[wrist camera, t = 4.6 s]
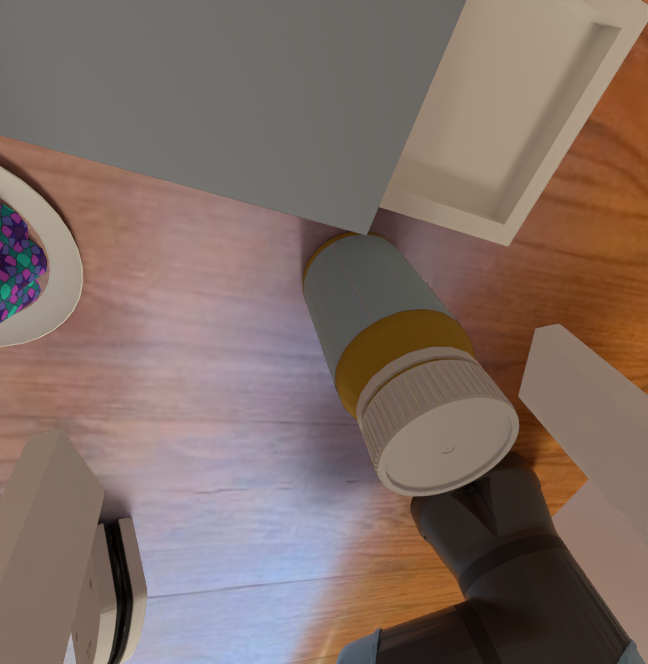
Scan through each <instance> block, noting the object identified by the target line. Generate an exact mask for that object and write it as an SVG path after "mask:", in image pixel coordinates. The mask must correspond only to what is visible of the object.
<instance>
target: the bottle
mask: <svg viewBox="0 0 648 664" xmlns="http://www.w3.org/2000/svg"><path fill="white" fill-rule="evenodd" d="M303 293H304V297H305V301H306V303H307V306H308V309H309V312H310V315H311V318H312V321H313V324H314V327H315V329H316V332H317V335H318V338H319V341H320V344H321V347H322V350H323V352H324V355H325V358H326V361H327V364H328V367H329V370H330V373H331V376H332V378H333V381H334V384H335V387H336V390H337V392H338V394H339V397H340V399H341V401H342V404H343V406H344V408H345V409H346V410H347V411H348V412H349V413H350V414H351V415H352V416H353V417H354V418H355V419H356V420H357V421H358V425H359V427H360V430H361V432H362V434H363V438H364V442H365V444H366V447H367V450H368V452H369V455H370V458H371V460H372V463H373V466H374V469H375V471H376V474H377V475H378V478H379V479H380V480H381V482H382V483H383V484H384V485H385V486H386V487H387V488H388V489H389V490H391V491H393V492H395V493H398V494H401V495H406V496H429V495H435V494H440V493H444V492H447V491H450V490H453V489H456V488H459V487H461V486H463V485H466V484H468V483H470V482H472V481H473V480H475V479H477V478H479V477H480V476H482V475H483V474H485V473H486V472H488V471H489V470H490V469H492V468H493V467H494V466H495V465H496V464H497V463H499V462H500V461H501V460H502V459H503V458H504V456H505V455H506V454H507V453H508V452H509V450H510V449H511V447H512V446H513V444H514V442H515V440H516V438H517V435H518V431H519V419H518V416H517V414H516V410H515V409H514V406H513V405H512V404H511V403H510V401H509V400H508V399H507V398H506V396H505V395H504V394H503V392H502V391H501V390H500V389H499V387H498V386H497V385H496V384H495V382H494V381H493V380H492V379H491V377H490V376H489V375H488V374H487V373H486V372H485V370H484V369H483V368H482V367H481V365H480V364H479V363H478V362H477V361H476V359H475V354H474V350H473V346H472V343H471V340H470V338H469V337H468V335H467V334H466V332H465V331H464V329H463V328H462V327H461V325H460V324H459V322H458V321H457V320H456V319H455V318H454V316H453V315H452V314H451V313H450V312H449V310H448V309H447V308H446V307H445V306H444V304H443V303H442V302H441V301H440V300H439V298H438V297H437V296H436V295H435V294H434V292H433V291H432V290H431V289H430V288H429V286H428V285H427V284H426V283H425V282H424V280H423V279H422V278H421V277H420V276H419V274H418V273H417V272H416V271H415V270H414V268H413V267H412V266H411V265H410V264H409V262H408V261H407V260H406V259H405V258H404V256H403V255H402V254H401V253H400V251H399V250H398V249H397V248H396V247H395V246H394V245H393V244H392V243H391V242H390V241H389V240H387V239H386V238H384V237H383V236H381V235H379V234H376V233H372V232H368V233H367V235H363V234H359V233H356V232H347V233H344V234H341V235H339V236H336V237H334V238H332V239H330V240H329V241H327V242H326V243H325V244H323V245H322V246H321V247H319V248H318V249H317V250H316V252H315V253H314V254H313V256H312V257H311V259H310V260H309V261H308V263H307V266H306V269H305V272H304V275H303Z"/></svg>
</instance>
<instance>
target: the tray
mask: <svg viewBox="0 0 648 664" xmlns="http://www.w3.org/2000/svg"><path fill="white" fill-rule="evenodd" d="M647 22H648V5H647V4H646V3H644V2H643V1H642V0H466V3H465V5H464V7H463V10H462V12H461V14H460V17H459V19H458V21H457V24H456V26H455V29H454V31H453V33H452V36H451V38H450V40H449V43H448V45H447V47H446V50H445V52H444V54H443V57H442V59H441V62H440V64H439V66H438V69H437V71H436V73H435V76H434V78H433V80H432V83H431V85H430V87H429V90H428V92H427V94H426V97H425V99H424V102H423V104H422V106H421V109H420V111H419V113H418V116H417V118H416V120H415V123H414V125H413V127H412V130H411V132H410V135H409V137H408V139H407V142H406V144H405V146H404V149H403V151H402V153H401V156H400V158H399V160H398V163H397V165H396V168H395V170H394V172H393V175H392V177H391V179H390V182H389V184H388V186H387V189H386V191H385V193H384V196H383V198H382V201H381V203H380V205H379V207H380V208H383V209H387V210H390V211H393V212H396V213H400V214H403V215H406V216H410V217H413V218H416V219H419V220H423V221H426V222H429V223H432V224H436V225H439V226H442V227H445V228H449V229H452V230H455V231H459V232H462V233H465V234H468V235H472V236H475V237H478V238H481V239H485V240H488V241H491V242H495V243H498V244H501V245H504V246H509V245H510V243H511V241H512V240H513V238H514V237H515V235H516V233H517V232H518V230H519V229H520V227H521V225H522V224H523V222H524V220H525V219H526V217H527V216H528V214H529V212H530V211H531V209H532V208H533V206H534V204H535V203H536V201H537V200H538V198H539V196H540V195H541V193H542V191H543V190H544V188H545V187H546V185H547V183H548V182H549V180H550V179H551V177H552V175H553V174H554V172H555V171H556V169H557V167H558V166H559V164H560V162H561V161H562V159H563V158H564V156H565V154H566V153H567V151H568V150H569V148H570V146H571V145H572V143H573V142H574V140H575V138H576V137H577V135H578V133H579V132H580V130H581V129H582V127H583V125H584V124H585V122H586V121H587V119H588V117H589V116H590V114H591V112H592V111H593V109H594V108H595V106H596V104H597V103H598V101H599V100H600V98H601V96H602V95H603V93H604V92H605V90H606V88H607V87H608V85H609V83H610V82H611V80H612V79H613V77H614V75H615V74H616V72H617V71H618V69H619V67H620V66H621V64H622V63H623V61H624V59H625V58H626V56H627V54H628V53H629V51H630V50H631V48H632V46H633V45H634V43H635V42H636V40H637V38H638V37H639V35H640V34H641V32H642V30H643V29H644V27H645V25H646V24H647Z"/></svg>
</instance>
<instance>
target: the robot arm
mask: <svg viewBox="0 0 648 664" xmlns="http://www.w3.org/2000/svg"><path fill="white" fill-rule="evenodd" d="M518 397H519V398H520V399H521V400H522V402H523V403H524V404H525V405H526V406H527V407H528V409H529V410H530V411H531V412H532V413H533V414H534V416H535V417H536V418H537V419H538V420H539V421H540V423H541V424H542V425H543V426H544V427H545V428H546V430H547V431H548V432H549V433H550V434H551V435H552V437H553V438H554V439H555V440H556V441H557V442H558V444H559V445H560V446H561V447H562V448H563V449H564V451H565V452H566V453H567V454H568V455H569V456H570V458H571V459H572V460H573V461H574V462H575V463H576V465H577V466H578V467H579V468H580V469H581V470H582V472H583V473H584V474H585V475H586V476H587V477H588V479H589V480H590V481H591V482H592V483H593V484H594V486H595V487H596V488H597V489H598V490H599V491H600V492H601V494H602V495H603V496H604V497H605V498H606V500H607V501H608V502H609V503H610V504H611V505H612V506H613V507H614V509H615V510H616V511H617V512H618V514H619V515H620V516H621V517H622V518H623V519H624V521H625V522H626V523H627V524H628V525H629V526H630V528H631V529H632V530H633V531H634V532H635V533H636V535H637V536H638V537H639V538H640V539H641V540H642V542H643V543H644V544H645V545H646V546H647V547H648V395H647V394H645V393H644V392H643V391H642V390H640V389H639V388H638V387H637V386H636V385H634V384H633V383H632V382H631V381H629V380H628V379H627V378H626V377H625V376H623V375H622V374H621V373H620V372H618V371H617V370H616V369H615V368H613V367H612V366H611V365H610V364H609V363H607V362H606V361H605V360H604V359H602V358H601V357H600V356H599V355H597V354H596V353H595V352H594V351H593V350H591V349H590V348H589V347H588V346H586V345H585V344H584V343H583V342H582V341H580V340H579V339H578V338H577V337H575V336H574V335H573V334H572V333H570V332H569V331H568V330H567V329H566V328H564V327H563V326H562V325H561V324H554V325H549V326H545V327H540V328H535V332H534V336H533V340H532V344H531V348H530V352H529V356H528V360H527V363H526V367H525V371H524V375H523V379H522V383H521V387H520V391H519V395H518ZM104 495H105V490H104V489H103V488H102V486H101V485H100V483H99V482H98V480H97V479H96V477H95V476H94V474H93V473H92V471H91V470H90V468H89V467H88V465H87V464H86V462H85V461H84V460H83V458H82V457H81V455H80V454H79V452H78V451H77V449H76V448H75V446H74V445H73V443H72V442H71V440H70V439H69V437H68V436H67V434H66V433H65V432H64V430H63V429H62V428H61V429H56V430H52V431H47V432H42V433H37V434H33V435H30V437H29V439H28V441H27V443H26V445H25V447H24V449H23V451H22V454H21V456H20V458H19V460H18V462H17V464H16V466H15V468H14V470H13V473H12V475H11V477H10V479H9V481H8V483H7V485H6V487H5V489H4V491H3V494H2V496H1V498H0V664H63V661H64V657H65V653H66V649H67V645H68V641H69V637H70V633H71V629H72V625H73V621H74V617H75V613H76V609H77V605H78V601H79V597H80V593H81V589H82V584H83V580H84V576H85V572H86V568H87V564H88V560H89V556H90V552H91V548H92V544H93V540H94V536H95V532H96V528H97V524H98V520H99V516H100V512H101V507H102V503H103V499H104ZM411 514H412V517H413V519H414V522H415V524H416V526H417V529H418V531H419V533H420V535H421V536H422V537H423V538H424V539H425V541H427V542H428V543H430V544H431V546H432V547H433V548H434V550H435V551H436V553H437V554H438V556H439V557H440V558H441V560H442V561H443V562H444V564H445V565H446V566H447V567H448V569H449V570H450V571H451V573H452V574H453V575H454V577H455V578H456V580H457V583H458V585H459V587H460V589H461V591H462V594H463V596H464V598H465V602H462V603H459V604H456V605H453V606H450V607H447V608H444V609H441V610H438V611H436V612H433V613H430V614H427V615H424V616H421V617H418V618H416V619H413V620H410V621H407V622H404V623H401V624H398V625H396V626H393V627H390V628H387V629H384V630H382V629H381V628H378V629H376V631H375V633H372V634H370V635H368V636H365V637H363V638H360V639H358V640H356V641H353V642H351V643H349V644H347V645H346V646H345V647H344V648H343V649H342V650H341V652H340V654H339V656H338V658H337V662H336V664H645V662H644V661H643V659H642V657H641V656H640V654H639V653H638V651H637V647H636V644H635V642H634V641H633V640H632V639H630V638H629V637H628V635H627V634H626V632H625V631H624V629H623V628H622V626H621V625H620V624H619V622H618V621H617V619H616V618H615V616H614V615H613V613H612V612H611V611H610V609H609V608H608V606H607V605H606V603H605V602H604V600H603V599H602V598H601V596H600V595H599V593H598V592H597V590H596V589H595V587H594V586H593V584H592V583H591V582H590V580H589V579H588V577H587V576H586V574H585V573H584V571H583V570H582V569H581V567H580V566H579V564H578V563H577V561H576V560H575V559H574V557H573V556H572V554H571V553H570V551H569V550H568V548H567V547H566V545H565V544H564V542H563V541H562V540H561V538H560V537H559V535H558V534H557V532H556V530H555V527H554V525H553V521H552V518H551V515H550V512H549V509H548V507H547V504H546V501H545V499H544V496H543V493H542V491H541V486H540V481H539V479H538V477H537V475H536V473H535V472H534V471H533V469H532V468H531V467H530V465H529V464H528V462H527V461H526V460H525V459H524V458H523V457H521V456H520V455H517V454H514V453H509V452H508V453H507V454H506V455H505V456H504V458H503V459H502V460H501V461H500V462H499V463H497V464H496V465H495V466H494V467H493V468H492V469H490V470H489V471H488V472H486V473H485V474H483V475H482V476H480V477H479V478H477V479H475V480H473V481H472V482H470V483H468V484H466V485H463V486H461V487H459V488H456V489H453V490H450V491H447V492H444V493H440V494H435V495H429V496H415V498H414V500H413V503H412V506H411Z"/></svg>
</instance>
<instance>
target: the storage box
mask: <svg viewBox="0 0 648 664" xmlns="http://www.w3.org/2000/svg"><path fill="white" fill-rule="evenodd" d="M465 3H466V0H0V135H1V136H5V137H8V138H12V139H16V140H19V141H23V142H27V143H30V144H34V145H38V146H41V147H45V148H48V149H52V150H56V151H59V152H63V153H67V154H70V155H74V156H78V157H81V158H85V159H89V160H92V161H96V162H100V163H103V164H107V165H111V166H114V167H118V168H122V169H125V170H129V171H133V172H136V173H140V174H144V175H147V176H151V177H155V178H158V179H162V180H166V181H169V182H173V183H176V184H180V185H184V186H187V187H191V188H195V189H198V190H202V191H206V192H209V193H213V194H217V195H220V196H224V197H228V198H231V199H235V200H239V201H242V202H246V203H250V204H253V205H257V206H261V207H264V208H268V209H272V210H275V211H279V212H283V213H286V214H290V215H294V216H297V217H301V218H304V219H308V220H312V221H315V222H319V223H323V224H326V225H330V226H334V227H337V228H341V229H345V230H348V231H352V232H356V233H359V234H363V235H367V233H368V231H369V229H370V226H371V224H372V222H373V219H374V217H375V215H376V212H377V210H378V208H379V205H380V203H381V201H382V198H383V196H384V193H385V191H386V189H387V186H388V184H389V182H390V179H391V177H392V175H393V172H394V170H395V168H396V165H397V163H398V160H399V158H400V156H401V153H402V151H403V149H404V146H405V144H406V142H407V139H408V137H409V135H410V132H411V130H412V127H413V125H414V123H415V120H416V118H417V116H418V113H419V111H420V109H421V106H422V104H423V102H424V99H425V97H426V94H427V92H428V90H429V87H430V85H431V83H432V80H433V78H434V76H435V73H436V71H437V69H438V66H439V64H440V62H441V59H442V57H443V54H444V52H445V50H446V47H447V45H448V43H449V40H450V38H451V36H452V33H453V31H454V29H455V26H456V24H457V21H458V19H459V17H460V14H461V12H462V10H463V7H464V5H465Z"/></svg>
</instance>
